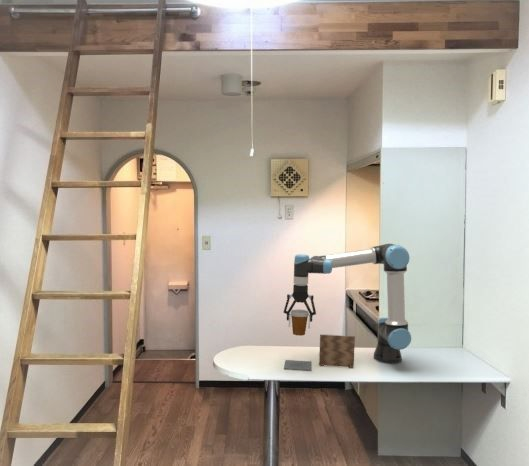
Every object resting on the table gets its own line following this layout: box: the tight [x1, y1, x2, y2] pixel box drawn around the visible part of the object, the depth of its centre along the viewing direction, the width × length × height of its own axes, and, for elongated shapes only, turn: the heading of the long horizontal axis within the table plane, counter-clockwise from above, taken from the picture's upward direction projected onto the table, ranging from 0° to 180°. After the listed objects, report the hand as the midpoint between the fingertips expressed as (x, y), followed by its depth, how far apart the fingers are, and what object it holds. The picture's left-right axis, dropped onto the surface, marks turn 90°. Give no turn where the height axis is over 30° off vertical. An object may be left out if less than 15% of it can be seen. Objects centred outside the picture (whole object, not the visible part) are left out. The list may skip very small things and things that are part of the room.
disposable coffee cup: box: [290, 309, 310, 336], centre depth 253 cm, size 10×10×12 cm
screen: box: [318, 334, 356, 369], centre depth 256 cm, size 18×5×16 cm, turn 84°
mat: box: [283, 359, 312, 372], centre depth 254 cm, size 14×14×1 cm
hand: (299, 327), depth 253 cm, fingers closed on disposable coffee cup, 9 cm apart
